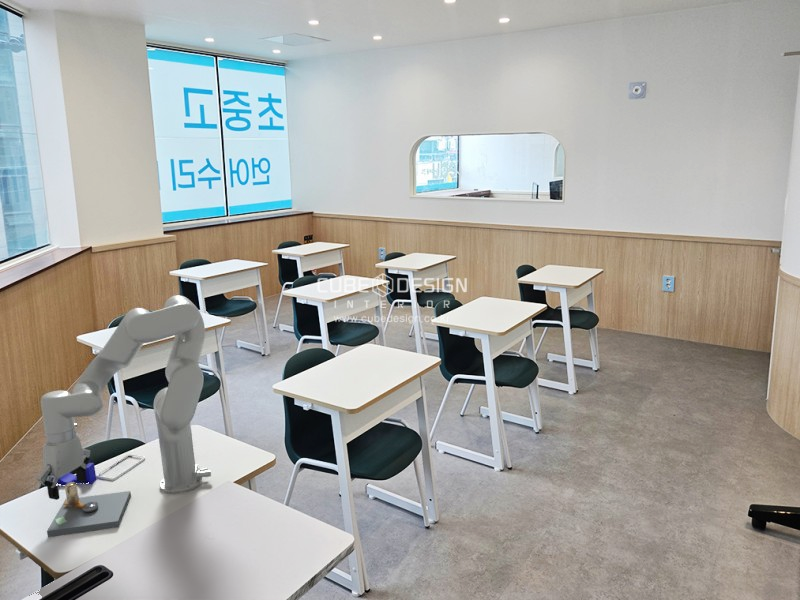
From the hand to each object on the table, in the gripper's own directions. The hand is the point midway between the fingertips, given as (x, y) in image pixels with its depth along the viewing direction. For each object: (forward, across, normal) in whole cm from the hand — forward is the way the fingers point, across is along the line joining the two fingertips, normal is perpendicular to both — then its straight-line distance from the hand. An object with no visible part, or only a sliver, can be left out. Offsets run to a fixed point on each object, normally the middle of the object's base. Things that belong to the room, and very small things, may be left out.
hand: (68, 489), depth 172 cm
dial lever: (+5, -1, +3) cm, 6 cm away
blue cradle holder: (+8, -14, -14) cm, 21 cm away
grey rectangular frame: (+8, -26, -6) cm, 28 cm away
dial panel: (+8, -1, +7) cm, 10 cm away
